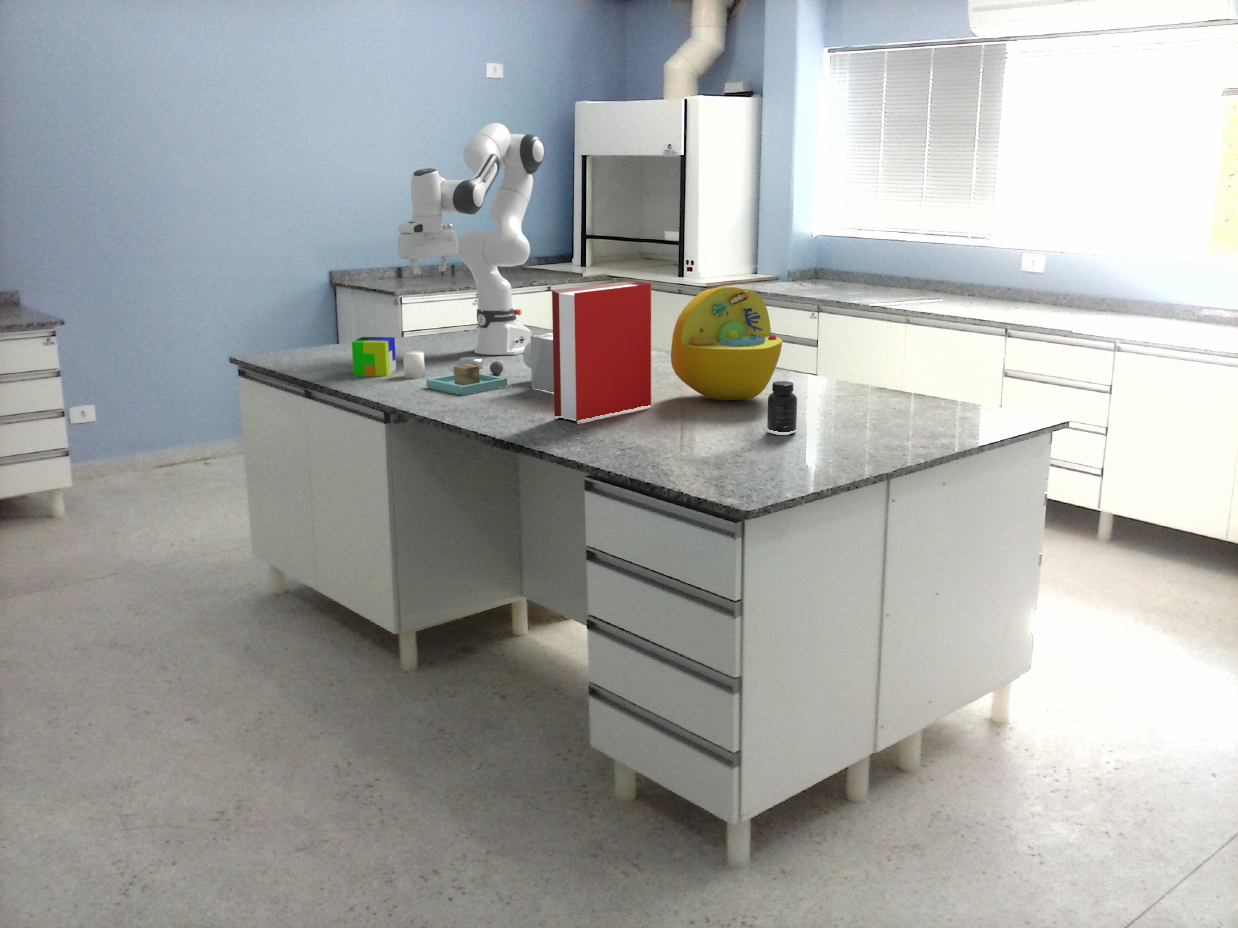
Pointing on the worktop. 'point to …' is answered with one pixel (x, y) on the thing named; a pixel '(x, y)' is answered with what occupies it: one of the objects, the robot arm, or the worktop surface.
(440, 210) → the robot arm
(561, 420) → the worktop surface
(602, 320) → the book
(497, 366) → the rubber ball
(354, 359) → the puzzle toy
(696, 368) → the educational model
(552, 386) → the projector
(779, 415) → the supplement bottle
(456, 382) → the walnut block
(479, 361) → the grey metal dome
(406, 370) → the ceramic jar
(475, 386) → the tray
